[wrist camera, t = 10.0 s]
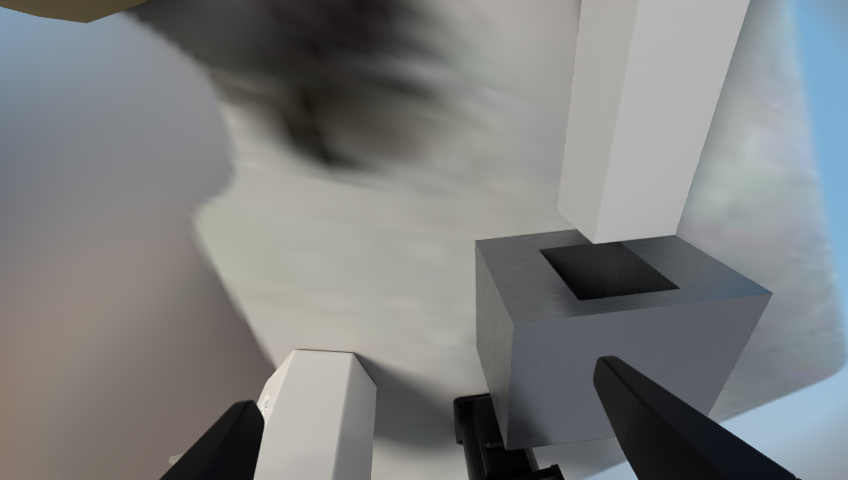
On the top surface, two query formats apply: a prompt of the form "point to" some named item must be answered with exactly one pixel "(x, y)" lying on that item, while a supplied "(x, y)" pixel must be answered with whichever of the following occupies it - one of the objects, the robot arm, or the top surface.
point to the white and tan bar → (642, 111)
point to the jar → (317, 419)
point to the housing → (602, 326)
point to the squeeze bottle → (71, 8)
